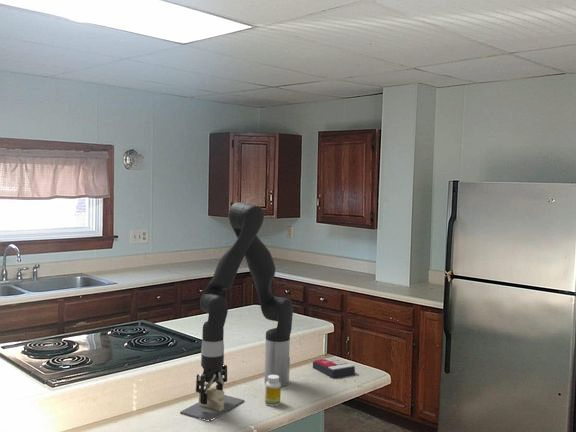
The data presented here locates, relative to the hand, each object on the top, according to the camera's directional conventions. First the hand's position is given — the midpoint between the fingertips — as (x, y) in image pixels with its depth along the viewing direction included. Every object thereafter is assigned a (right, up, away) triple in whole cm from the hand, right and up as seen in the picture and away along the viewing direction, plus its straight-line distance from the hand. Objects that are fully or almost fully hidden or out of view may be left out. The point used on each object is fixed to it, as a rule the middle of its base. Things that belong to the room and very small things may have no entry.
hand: (211, 399), depth 191 cm
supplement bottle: (+20, -3, +6) cm, 21 cm away
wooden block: (0, -2, 0) cm, 2 cm away
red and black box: (+44, -3, +42) cm, 61 cm away
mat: (0, -3, +1) cm, 3 cm away
